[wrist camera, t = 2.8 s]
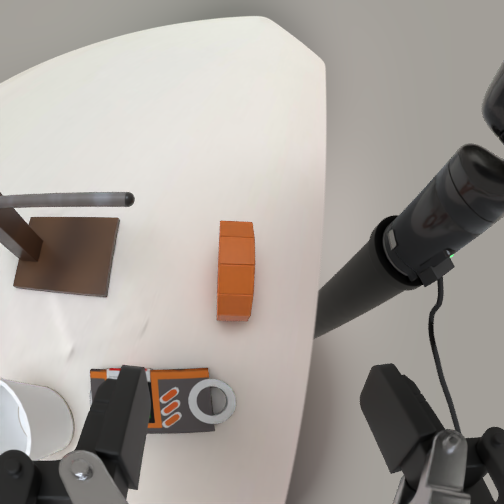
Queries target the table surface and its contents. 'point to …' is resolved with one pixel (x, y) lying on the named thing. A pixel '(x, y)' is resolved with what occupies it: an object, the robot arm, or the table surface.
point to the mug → (33, 419)
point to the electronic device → (177, 399)
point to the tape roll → (235, 271)
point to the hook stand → (62, 242)
